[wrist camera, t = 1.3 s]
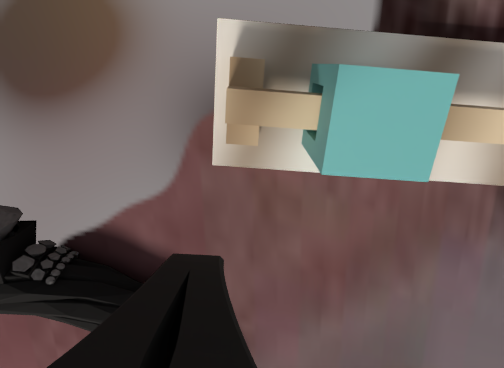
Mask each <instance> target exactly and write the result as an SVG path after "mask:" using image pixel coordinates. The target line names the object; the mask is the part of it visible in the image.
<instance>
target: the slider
mask: <svg viewBox="0 0 504 368" xmlns="http://www.w3.org/2000/svg"><path fill="white" fill-rule="evenodd" d="M459 75H460V74H453V73H441V72H429V71H417V70H405V69H393V68H381V67H369V66H357V65H345V64H312V69H311V76H310V84H309V91H308V92H312V93H322V100H321V106H320V113H319V120H318V126H317V130H306V129H303V135H302V143H301V144H302V145H303V147H304V148H305V150H306V151H307V153H308V154H309V156H310V158H311V159H312V161H313V162H314V164H315V165H316V167H317V168H318V170H319V171H320V173H321V174H322V175H336V176H350V177H364V178H378V179H392V180H406V181H420V182H428V181H429V178H430V174H431V171H432V167H433V164H434V160H435V157H436V154H437V150H438V147H439V143H440V140H441V136H442V133H443V129H444V126H445V123H446V119H447V116H448V112H449V109H450V105H451V102H452V99H453V95H454V92H455V88H456V85H457V81H458V78H459Z"/></svg>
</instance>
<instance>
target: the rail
mask: <svg viewBox="0 0 504 368" xmlns="http://www.w3.org/2000/svg"><path fill="white" fill-rule="evenodd" d="M312 64H345V65H357V66H369V67H381V68H393V69H405V70H417V71H429V72H441V73H453V74H460V75H459V78H458V81H457V85H456V88H455V92H454V95H453V99H452V102H451V105H450V109H449V112H448V116H447V119H446V123H445V126H444V129H443V133H442V136H441V140H440V143H439V147H438V150H437V154H436V157H435V160H434V164H433V167H432V171H431V174H430V178H429V180H431V181H445V182H460V183H474V184H488V185H502V186H504V43H499V42H487V41H476V40H464V39H453V38H441V37H430V36H418V35H407V34H395V33H384V32H373V31H361V30H349V29H338V28H326V27H315V26H304V25H292V24H281V23H269V22H257V21H246V20H235V19H224V18H218V19H217V46H216V74H215V104H214V132H213V161H212V165H220V166H234V167H248V168H262V169H276V170H290V171H305V172H319V173H320V171H319V170H318V168H317V167H316V165H315V164H314V162H313V161H312V159H311V158H310V156H309V154H308V153H307V151H306V150H305V148H304V147H303V145H302V144H301V143H302V135H303V129H306V130H317V126H318V120H319V113H320V106H321V100H322V93H312V92H308V91H309V84H310V76H311V69H312Z"/></svg>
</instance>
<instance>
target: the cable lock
mask: <svg viewBox="0 0 504 368" xmlns="http://www.w3.org/2000/svg"><path fill="white" fill-rule="evenodd" d="M22 214H23V213H22V212H21V211H20V210H19V208H15V207H8V206H1V205H0V314H17V315H36V316H40V317H44V318H48V319H52V320H56V321H60V322H64V323H67V324H70V325H73V326H76V327H79V328H82V329H85V330H88V331H91V332H92V331H93V330H94V329H95V328H96V327H98V326H99V325H100V324H101V323H102V322H103V321H104V320H106V319H107V318H108V317H109V316H110V315H111V314H112V313H114V312H115V311H116V310H117V309H118V308H119V307H120V306H121V305H122V304H123V303H124V302H126V301H127V300H128V299H129V298H130V297H131V296H132V295H133V294H134V293H135V292H136V291H137V290H138V289H139V288H140V287H141V286H142V285H143V284H142V283H140V282H137V281H135V280H133V279H131V278H129V277H128V276H126V275H124V274H122V273H120V272H118V271H116V270H115V269H113V268H111V267H109V266H105V265H101V264H97V263H93V262H89V261H85V260H81V259H77V257H78V256H79V255H78V254H79V253H78V252H76V251H72V252H70V254H68V252H69V251H68V250H70V248H68V247H66V246H63V245H61V247H55V245H56V243H54V242H52V241H51V240H45V241H38V242H39V244H36V220H35V221H34V220H31V221H18V220H19V219H20V217H21V215H22Z"/></svg>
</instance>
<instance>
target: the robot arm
mask: <svg viewBox="0 0 504 368" xmlns="http://www.w3.org/2000/svg"><path fill="white" fill-rule="evenodd" d="M223 266H224V260H223V259H222V258H221V257H220V256H211V255H191V254H173V255H171V256H170V257H169V258H168V259H167V260H166V261H165V262H164V263H163V264H162V265H161V267H160V268H159V269H158V270H157V271H156V272H155V273H154V274H153V275H152V276H151V277H150V278H149V279H148V280H147V281H146V282H145V283H144V284H143V285H142V286H141V287H140V288H139V289H138V290H137V291H136V292H135V293H134V294H133V295H132V296H131V297H130V298H129V299H128V300H127V301H126V302H124V303H123V304H122V305H121V306H120V307H119V308H118V309H117V310H116V311H115V312H114V313H112V314H111V315H110V316H109V317H108V318H107V319H106V320H104V321H103V322H102V323H101V324H100V325H99V326H98V327H96V328H95V329H94V330H93V331H92V332H91V333H90V334H88V335H87V336H86V337H85V338H84V339H82V340H81V341H80V342H79V343H78V344H76V345H75V346H74V347H73V348H71V349H70V350H69V351H68V352H66V353H65V354H64V355H62V356H61V357H60V358H59V359H57V360H56V361H55V362H53V363H52V364H51V365H49V366H48V367H47V368H257V366H256V364H255V362H254V360H253V358H252V356H251V353H250V351H249V349H248V347H247V344H246V342H245V339H244V337H243V335H242V332H241V330H240V327H239V324H238V322H237V319H236V316H235V313H234V310H233V307H232V304H231V301H230V298H229V294H228V290H227V286H226V282H225V277H224V269H223Z"/></svg>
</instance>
